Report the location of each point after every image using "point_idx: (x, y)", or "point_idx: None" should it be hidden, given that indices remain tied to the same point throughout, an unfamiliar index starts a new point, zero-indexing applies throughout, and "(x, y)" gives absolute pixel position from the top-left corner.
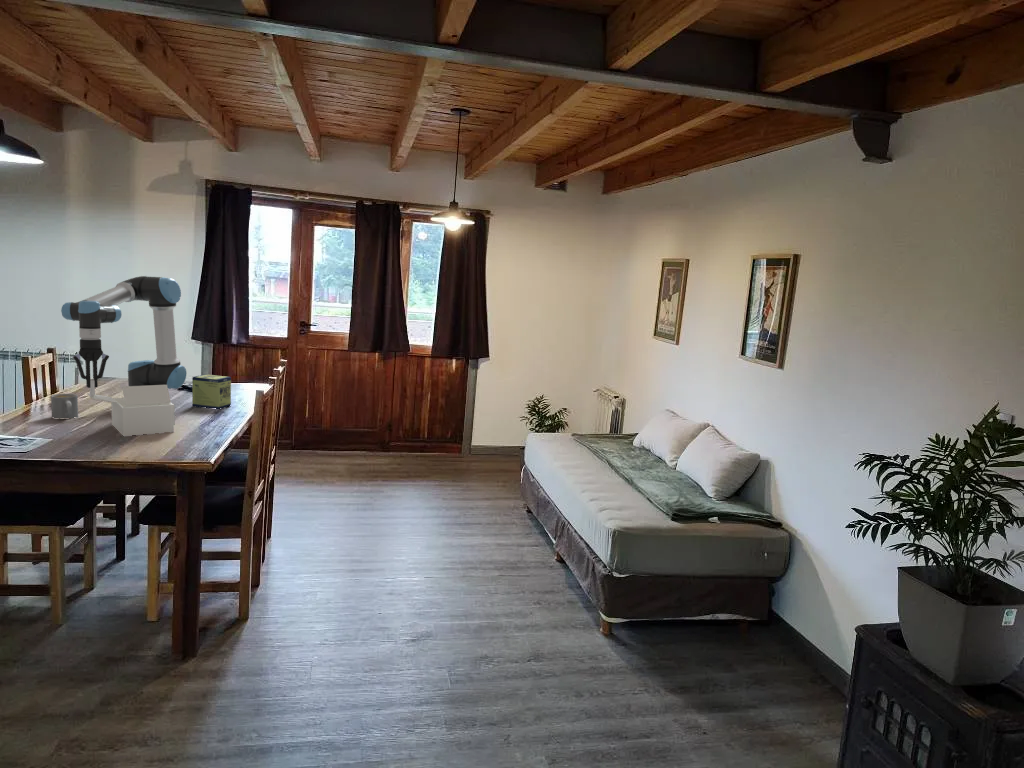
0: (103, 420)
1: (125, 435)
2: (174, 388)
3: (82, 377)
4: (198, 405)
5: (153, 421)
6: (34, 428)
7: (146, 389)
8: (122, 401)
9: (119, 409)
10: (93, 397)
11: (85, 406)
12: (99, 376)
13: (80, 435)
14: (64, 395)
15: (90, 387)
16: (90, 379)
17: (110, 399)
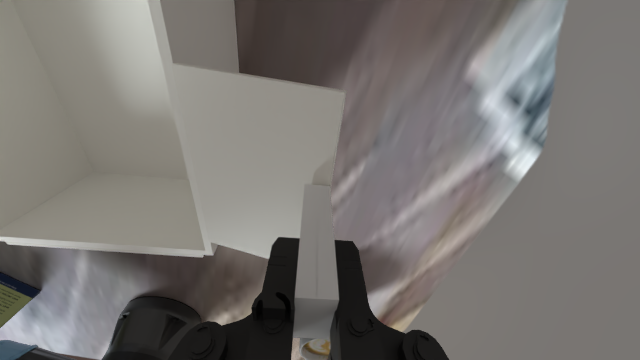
0: None
1: None
2: (9, 340)
3: (436, 353)
4: (14, 285)
5: None
6: (427, 227)
7: None
8: (174, 234)
9: (186, 44)
10: (324, 149)
11: None
12: (218, 351)
13: (371, 81)
14: (323, 357)
15: (332, 238)
16: (319, 335)
17: (215, 159)
